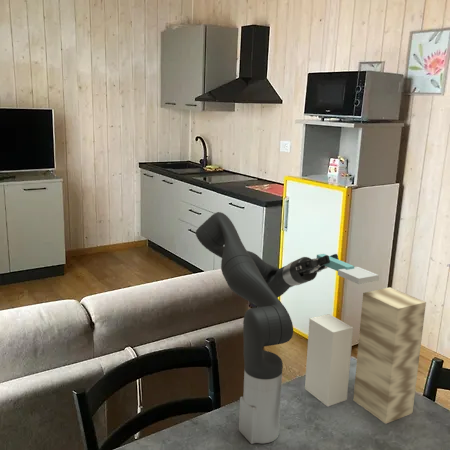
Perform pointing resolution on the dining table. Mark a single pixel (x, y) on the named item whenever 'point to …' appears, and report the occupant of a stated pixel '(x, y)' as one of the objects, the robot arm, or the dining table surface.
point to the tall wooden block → (388, 353)
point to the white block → (328, 359)
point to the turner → (351, 271)
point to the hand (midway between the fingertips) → (332, 258)
